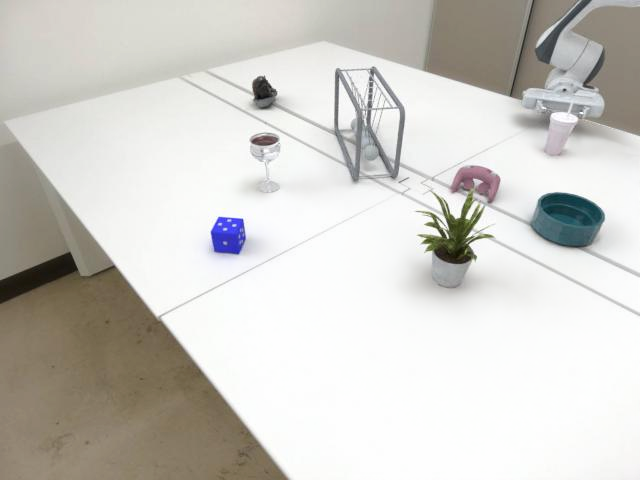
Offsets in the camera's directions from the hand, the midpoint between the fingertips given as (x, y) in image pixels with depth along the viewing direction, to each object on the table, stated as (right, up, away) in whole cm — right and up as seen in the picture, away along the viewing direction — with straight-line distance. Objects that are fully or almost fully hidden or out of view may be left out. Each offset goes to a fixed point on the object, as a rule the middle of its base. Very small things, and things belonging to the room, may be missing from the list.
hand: (561, 113), depth 120 cm
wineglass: (-76, -21, -14) cm, 80 cm away
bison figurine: (-81, +10, +25) cm, 85 cm away
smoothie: (-3, -10, -1) cm, 11 cm away
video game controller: (-29, -23, -16) cm, 40 cm away
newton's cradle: (-52, -11, -1) cm, 54 cm away
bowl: (-14, -31, -27) cm, 43 cm away
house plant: (-41, -39, -37) cm, 67 cm away
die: (-81, -34, -30) cm, 93 cm away
